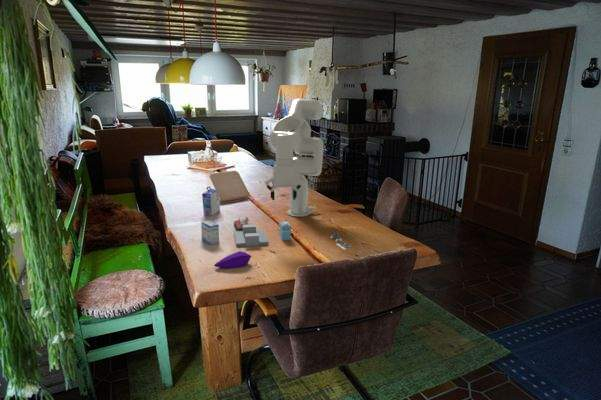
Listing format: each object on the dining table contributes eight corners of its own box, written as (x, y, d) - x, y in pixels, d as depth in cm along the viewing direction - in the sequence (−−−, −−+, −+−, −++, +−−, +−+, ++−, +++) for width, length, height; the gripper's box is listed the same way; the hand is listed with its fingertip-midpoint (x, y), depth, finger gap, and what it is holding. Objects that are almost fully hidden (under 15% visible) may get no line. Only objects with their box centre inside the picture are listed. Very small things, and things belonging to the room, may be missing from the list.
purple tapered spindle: (212, 257, 155) (248, 248, 161) (213, 268, 157) (250, 259, 163) (215, 262, 151) (252, 252, 157) (216, 274, 153) (253, 264, 158)
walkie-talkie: (255, 233, 192) (248, 220, 211) (255, 224, 191) (248, 212, 209) (237, 235, 190) (231, 221, 208) (237, 226, 189) (231, 213, 207)
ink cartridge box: (211, 209, 225) (210, 184, 220) (220, 210, 223) (219, 185, 219) (202, 214, 215) (201, 188, 211) (211, 216, 214) (211, 189, 210)
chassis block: (263, 232, 192) (263, 223, 191) (268, 244, 178) (268, 235, 177) (234, 234, 189) (234, 225, 188) (236, 246, 175) (236, 237, 174)
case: (221, 205, 234) (220, 178, 229) (204, 196, 249) (203, 171, 245) (250, 200, 246) (250, 174, 242) (233, 192, 262) (233, 168, 257)
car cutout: (325, 239, 188) (326, 230, 187) (337, 237, 191) (338, 228, 190) (343, 251, 175) (343, 241, 174) (355, 248, 178) (356, 239, 177)
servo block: (286, 233, 193) (287, 218, 190) (291, 241, 183) (291, 225, 181) (278, 233, 192) (279, 218, 190) (282, 242, 182) (282, 226, 180)
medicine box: (201, 239, 182) (200, 221, 180) (210, 237, 185) (209, 219, 183) (211, 244, 177) (210, 226, 174) (219, 242, 180) (219, 224, 177)
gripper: (301, 160, 182) (300, 196, 187) (263, 160, 179) (263, 197, 184) (305, 163, 175) (303, 201, 180) (265, 163, 172) (265, 202, 177)
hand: (283, 199), depth 182 cm, fingers open, 9 cm apart
